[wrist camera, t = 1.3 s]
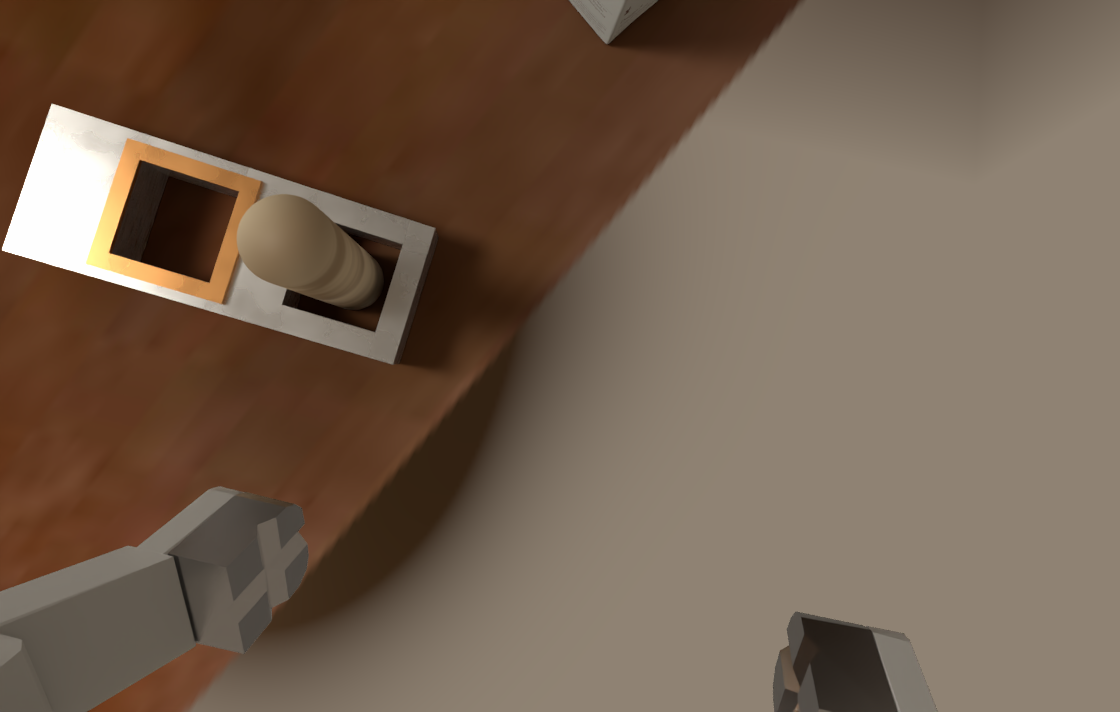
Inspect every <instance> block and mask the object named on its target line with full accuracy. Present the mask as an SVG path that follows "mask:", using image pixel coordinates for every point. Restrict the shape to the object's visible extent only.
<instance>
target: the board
mask: <svg viewBox="0 0 1120 712" xmlns="http://www.w3.org/2000/svg"><path fill="white" fill-rule="evenodd" d="M168 177H173V178H176V179H179V180H182V181H185V182H188V183H191V184H195V185H198V186H201V187H204V188H207V189H210V190H213V191H217V192H220V193H223V194H226V195H229V196H232V197H236V198H237V200H236V203H235V206H234V209H233V212H232V215H231V218H230V221H229V225H228V228H227V231H226V234H225V237H224V240H223V243H222V246H221V249H220V252H219V255H218V258H217V261H216V265H215V268H214V271H213V274H212V277H211V280H210V282H206V281H203V280H200V279H196V278H193V277H190V276H186V275H183V274H180V273H176V272H173V271H170V270H166V269H163V268H160V267H156V266H153V265H149V264H146V263H143V262H140V261H141V258H142V255H143V252H144V249H145V246H146V243H147V240H148V237H149V234H150V231H151V228H152V225H153V222H154V219H155V216H156V213H157V210H158V207H159V204H160V201H161V198H162V195H163V192H164V189H165V186H166V183H167V180H168ZM278 194H289V195H295V196H299V197H302V198H304V199H306V200H308V201H310V202H311V203H313V204H314V205H316V206H317V207H318V208H319V209H320V210H321V211H322V212H323V213H324V214H325V215H327V216H328V217H329V218H330V219H331V220H332V221H333V222H334V223H335V224H337V225H338V226H339V227H340V228H341V229H342V230H343V231H344V232H346V233H349V234H352V235H355V236H358V237H361V238H365V239H368V240H371V241H374V242H377V243H380V244H383V245H387V246H390V247H393V248H396V249H399V250H401V252H400V255H399V258H398V262H397V265H396V268H395V271H394V274H393V278H392V281H391V284H390V287H389V290H388V294H387V297H386V300H385V303H384V306H383V310H382V313H381V316H380V319H379V322H378V326H377V329H376V332H374V331H370V330H367V329H364V328H360V327H357V326H354V325H350V324H347V323H344V322H340V321H337V320H334V319H330V318H327V317H324V316H320V315H317V314H313V313H310V312H307V311H303V310H300V309H297V306H298V303H299V300H300V297H301V293H298V292H295V291H292V290H289V289H286V288H283V287H280V286H277V285H275V284H272V283H269V282H266V281H264V280H262V279H260V278H259V277H257V276H256V275H254V274H253V273H252V272H251V271H250V270H249V269H248V268H247V267H246V265H245V264H244V262H243V261H242V259H241V256H240V254H239V251H238V247H237V230H238V226H239V223H240V221H241V219H242V217H243V215H244V214H245V213H246V211H247V210H248V209H249V208H250V207H251V206H252V205H253V204H255V203H256V202H257V201H259V200H261V199H263V198H266V197H268V196H272V195H278ZM438 238H439V237H438V234H437V231H436V229H435V228H433V227H430V226H427V225H424V224H421V223H418V222H415V221H412V220H409V219H405V218H402V217H399V216H396V215H393V214H390V213H387V212H384V211H381V210H378V209H375V208H372V207H368V206H365V205H362V204H359V203H356V202H353V201H350V200H347V199H344V198H341V197H338V196H335V195H332V194H328V193H325V192H322V191H319V190H316V189H313V188H310V187H307V186H304V185H301V184H298V183H295V182H291V181H288V180H285V179H282V178H279V177H276V176H273V175H270V174H267V173H264V172H261V171H258V170H255V169H251V168H248V167H245V166H242V165H239V164H236V163H233V162H230V161H227V160H224V159H221V158H218V157H214V156H211V155H208V154H205V153H202V152H199V151H196V150H193V149H190V148H187V147H184V146H181V145H178V144H174V143H171V142H168V141H165V140H162V139H159V138H156V137H153V136H150V135H147V134H144V133H141V132H137V131H134V130H131V129H128V128H125V127H122V126H119V125H116V124H113V123H110V122H107V121H104V120H100V119H97V118H94V117H91V116H88V115H85V114H82V113H79V112H76V111H73V110H70V109H67V108H64V107H60V106H57V105H54V104H52V105H51V108H50V110H49V113H48V116H47V119H46V122H45V125H44V128H43V131H42V134H41V137H40V140H39V143H38V146H37V149H36V152H35V155H34V158H33V160H32V163H31V166H30V169H29V172H28V175H27V178H26V181H25V184H24V187H23V190H22V193H21V196H20V199H19V202H18V205H17V208H16V210H15V213H14V216H13V219H12V222H11V225H10V228H9V231H8V234H7V237H6V240H5V243H4V246H3V249H2V250H4V251H7V252H11V253H14V254H17V255H21V256H24V257H28V258H31V259H35V260H38V261H41V262H45V263H48V264H52V265H55V266H58V267H62V268H65V269H69V270H72V271H75V272H79V273H82V274H86V275H89V276H93V277H96V278H99V279H103V280H106V281H110V282H113V283H116V284H120V285H123V286H127V287H130V288H133V289H137V290H140V291H144V292H147V293H151V294H154V295H157V296H161V297H164V298H168V299H171V300H174V301H178V302H181V303H185V304H188V305H191V306H195V307H198V308H202V309H205V310H209V311H212V312H215V313H219V314H222V315H226V316H229V317H232V318H236V319H239V320H243V321H246V322H249V323H253V324H256V325H260V326H263V327H267V328H270V329H273V330H277V331H280V332H284V333H287V334H290V335H294V336H297V337H301V338H304V339H307V340H311V341H314V342H318V343H321V344H325V345H328V346H331V347H335V348H338V349H342V350H345V351H348V352H352V353H355V354H359V355H362V356H365V357H369V358H372V359H376V360H379V361H383V362H386V363H389V364H400V361H401V357H402V354H403V351H404V348H405V344H406V341H407V338H408V335H409V332H410V328H411V325H412V322H413V319H414V315H415V312H416V309H417V306H418V303H419V299H420V296H421V293H422V290H423V287H424V283H425V280H426V277H427V274H428V270H429V267H430V264H431V261H432V258H433V254H434V251H435V248H436V245H437V242H438Z"/></svg>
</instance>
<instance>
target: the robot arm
mask: <svg viewBox="0 0 1120 712" xmlns="http://www.w3.org/2000/svg"><path fill="white" fill-rule="evenodd" d="M304 524H305V523H304V517H303V512H302V508H301V507H299V506H297V505H295V504H292V503H288V502H284V501H280V500H276V499H272V498H268V497H263V496H259V495H255V494H251V493H247V492H240V491H236V490H232V489H228V488H224V487H220V486H219V487H216V488H212V489H209V490H208V491H206V492H205V493H204V494H203V495H201V496H200V497H199V498H198V499H196V500H195V501H194V502H193V503H191V504H190V505H189V506H188V507H186V508H185V509H184V510H183V511H181V512H180V513H179V514H178V515H176V516H175V517H174V518H173V519H171V520H170V521H169V522H168V523H166V524H165V525H164V526H163V527H161V528H160V529H159V530H158V531H157V532H155V533H154V534H153V535H152V536H150V537H149V538H148V539H147V540H145V541H144V542H143V543H142V544H140V545H139V546H138V547H137V548H136V547H132V546H126V547H123V548H121V549H118V550H115V551H112V552H109V553H107V554H104V555H101V556H98V557H96V558H93V559H90V560H87V561H84V562H82V563H79V564H76V565H73V566H70V567H68V568H65V569H62V570H59V571H57V572H54V573H51V574H48V575H45V576H43V577H40V578H37V579H34V580H32V581H29V582H26V583H23V584H20V585H18V586H15V587H12V588H9V589H6V590H4V591H1V592H0V712H87V711H89V710H90V709H92V708H94V707H95V706H97V705H99V704H100V703H102V702H104V701H105V700H107V699H109V698H110V697H112V696H114V695H115V694H117V693H119V692H120V691H122V690H124V689H125V688H127V687H129V686H130V685H132V684H134V683H135V682H137V681H139V680H140V679H142V678H144V677H145V676H147V675H149V674H150V673H152V672H154V671H155V670H157V669H159V668H160V667H162V666H164V665H165V664H167V663H169V662H170V661H172V660H173V659H175V658H177V657H178V656H180V655H182V654H183V653H185V652H187V651H188V650H190V649H192V648H193V647H195V646H196V643H199V644H203V645H208V646H212V647H216V648H221V649H225V650H229V651H234V652H238V653H243V654H245V652H246V651H247V650H248V649H249V648H250V646H251V645H252V644H253V643H254V641H255V640H256V639H257V638H258V637H259V635H260V634H261V633H262V632H263V630H264V629H265V628H266V627H267V626H268V624H269V623H270V622H271V620H272V607H274V606H276V605H278V604H280V603H282V602H284V601H286V600H288V599H289V598H290V597H291V596H292V594H293V593H294V592H295V591H296V589H297V588H298V587H299V585H300V583H301V581H302V578H303V576H304V574H305V571H306V569H307V563H308V556H309V554H308V545H307V543H306V542H305V540H304V539H303V538H302V536H301V535H300V534H299V533H298V531H299V530H300V528H301V527H302V526H303V525H304ZM787 634H788V640H789V646H787V647H786V648H784V649H782V650H780V652H779V656H778V660H777V663H776V666H775V674H774V682H773V701H774V712H938V711H937V708H936V706H935V703H934V701H933V698H932V696H931V693H930V690H929V688H928V686H927V683H926V680H925V678H924V675H923V673H922V670H921V668H920V665H919V663H918V660H917V657H916V655H915V652H914V650H913V647H912V645H911V642H910V640H909V639H908V638H907V637H906V636H905V634H904V633H899V632H894V631H889V630H884V629H879V628H874V627H869V626H866V627H865V626H863V625H858V624H854V623H849V622H844V621H839V620H834V619H830V618H825V617H820V616H815V615H810V614H805V613H800V612H795V613H794V614H793V616H792V617H791V619H790V622H789V625H788V628H787Z"/></svg>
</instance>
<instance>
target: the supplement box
mask: <svg viewBox="0 0 1120 712" xmlns="http://www.w3.org/2000/svg"><path fill="white" fill-rule="evenodd" d="M569 1H570V2H571V3H572V4H573V6H574V7H575V8H576V9H577V11H578V12H579V13H580V14H581V15H582V16H583V18H584V19H585V20H586V21H587V23H588V24H589V25H590V26H591V27H592V28H593V29H594V31H595V32H596V33H597V34H598V36H599V37H600V38H601V39H602V40H603V41H604V42H605V43H606V44H609V43H610V42H611V41H612V40H613V39H614V38H615V37H616V36H618V35H619V34H620V33H621V32H622V31H623V30H624V29H625V28H626V27H627V26H628V25H630V24H631V23H632V22H633V21H634V20H635V19H636V18H638V17H639V16H640V15H641V14H642V13H644V12H645V11H646V10H647V9H648V8H650V7H651V6H652V5H653V4H654V3H656V2H657V1H658V0H569Z"/></svg>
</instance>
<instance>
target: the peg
mask: <svg viewBox="0 0 1120 712" xmlns="http://www.w3.org/2000/svg"><path fill="white" fill-rule="evenodd" d="M237 247H238V251H239V254H240V256H241V259H242V261H243V262H244V264H245V265H246V267H247V268H248V269H249V270H250V271H251V272H252V273H253V274H254V275H256V276H257V277H259V278H260V279H262V280H264V281H266V282H269V283H272V284H275V285H277V286H280V287H283V288H286V289H289V290H292V291H295V292H298V293H301V294H303V295H306V296H309V297H312V298H315V299H318V300H321V301H324V302H327V303H329V304H332V305H335V306H338V307H341V308H344V309H348V310H360V309H364V308H366V307H368V306H370V305H372V304H373V303H374V302H375V301H376V300H377V299H378V298H379V296H380V295H381V293H382V290H383V287H384V274H383V271H382V269H381V266H380V265H379V263H378V262H377V261H376V260H375V259H374V258H373V257H372V256H371V255H370V254H369V253H367V252H366V251H365V250H364V249H363V248H362V247H361V246H360V245H359V244H358V243H356V242H355V241H354V240H353V239H352V238H351V237H350V236H349V235H348V234H346V233H345V232H344V231H343V230H342V229H341V228H340V227H339V226H338V225H337V224H335V223H334V222H333V221H332V220H331V219H330V218H329V217H328V216H327V215H325V214H324V213H323V212H322V211H321V210H320V209H319V208H318V207H317V206H316V205H314V204H313V203H311V202H310V201H308V200H306V199H304V198H302V197H299V196H295V195H289V194H278V195H272V196H268V197H266V198H263V199H261V200H259V201H257V202H256V203H255V204H253V205H252V206H251V207H250V208H249V209H248V210H247V211H246V213H245V214H244V215H243V217H242V219H241V221H240V223H239V226H238V230H237Z"/></svg>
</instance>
